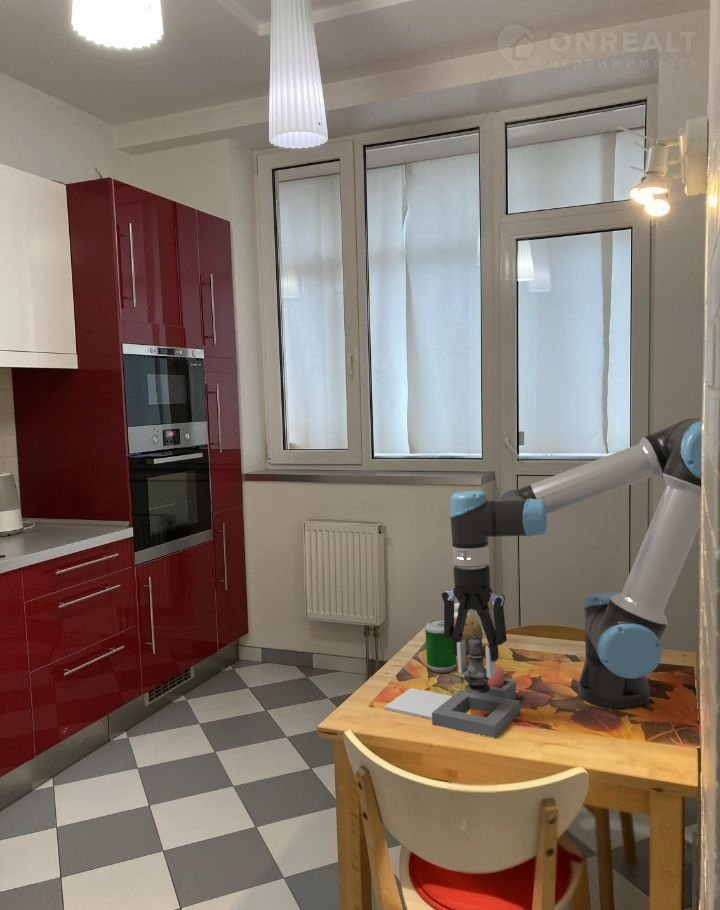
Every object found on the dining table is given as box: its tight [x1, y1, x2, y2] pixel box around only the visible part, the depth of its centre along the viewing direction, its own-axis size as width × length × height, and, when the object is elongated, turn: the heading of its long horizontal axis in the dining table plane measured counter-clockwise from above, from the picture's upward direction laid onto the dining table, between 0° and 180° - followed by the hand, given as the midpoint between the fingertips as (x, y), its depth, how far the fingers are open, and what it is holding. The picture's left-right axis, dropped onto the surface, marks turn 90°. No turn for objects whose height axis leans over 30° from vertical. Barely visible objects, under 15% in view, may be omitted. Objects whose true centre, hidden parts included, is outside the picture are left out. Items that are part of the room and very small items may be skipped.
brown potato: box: [454, 615, 484, 654], centre depth 200 cm, size 9×9×10 cm
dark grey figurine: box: [462, 633, 490, 694], centre depth 157 cm, size 6×6×12 cm
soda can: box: [424, 618, 458, 674], centre depth 188 cm, size 8×8×12 cm
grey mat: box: [383, 687, 453, 721], centre depth 167 cm, size 12×12×1 cm
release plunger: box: [488, 666, 505, 688], centre depth 167 cm, size 4×4×6 cm
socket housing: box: [431, 678, 521, 739], centre depth 161 cm, size 14×21×4 cm
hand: (476, 673), depth 157 cm, fingers closed on dark grey figurine, 6 cm apart
